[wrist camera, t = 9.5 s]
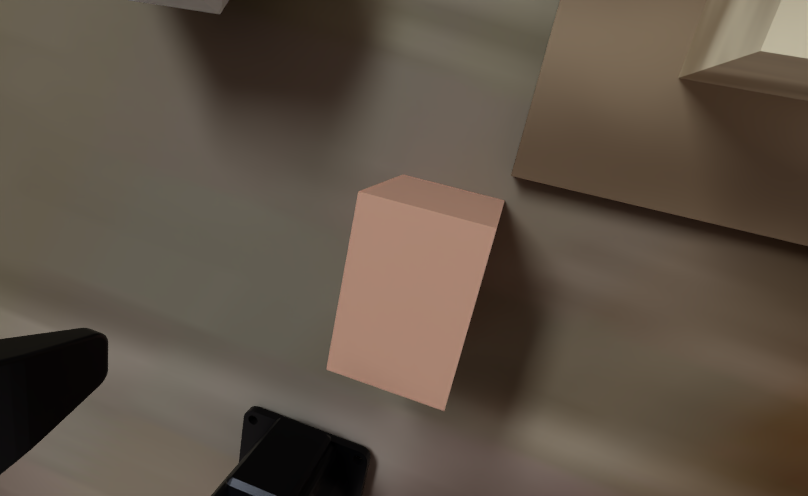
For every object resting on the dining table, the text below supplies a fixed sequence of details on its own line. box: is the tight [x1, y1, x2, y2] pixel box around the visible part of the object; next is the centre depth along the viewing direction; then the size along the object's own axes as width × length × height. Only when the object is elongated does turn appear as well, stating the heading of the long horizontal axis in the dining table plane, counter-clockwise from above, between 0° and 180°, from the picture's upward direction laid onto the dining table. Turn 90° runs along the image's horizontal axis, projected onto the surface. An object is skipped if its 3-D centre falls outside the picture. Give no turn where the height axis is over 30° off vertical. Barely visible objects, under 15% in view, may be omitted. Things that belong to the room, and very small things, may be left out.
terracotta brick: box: [326, 175, 505, 411], centre depth 15 cm, size 6×4×5 cm, turn 168°
